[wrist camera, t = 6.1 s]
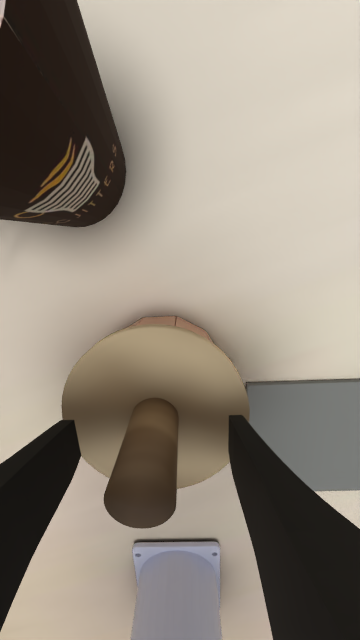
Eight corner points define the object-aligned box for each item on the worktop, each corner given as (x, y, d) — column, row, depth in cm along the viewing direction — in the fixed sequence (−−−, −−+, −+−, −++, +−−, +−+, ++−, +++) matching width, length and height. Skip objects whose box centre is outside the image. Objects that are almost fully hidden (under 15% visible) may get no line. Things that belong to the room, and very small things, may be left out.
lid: (249, 469, 13) (288, 587, 8) (92, 483, 13) (43, 603, 8) (239, 312, 10) (284, 350, 6) (48, 336, 11) (-54, 390, 6)
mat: (362, 485, 18) (366, 490, 18) (242, 487, 18) (243, 492, 18) (385, 378, 15) (390, 380, 15) (246, 382, 16) (247, 385, 15)
